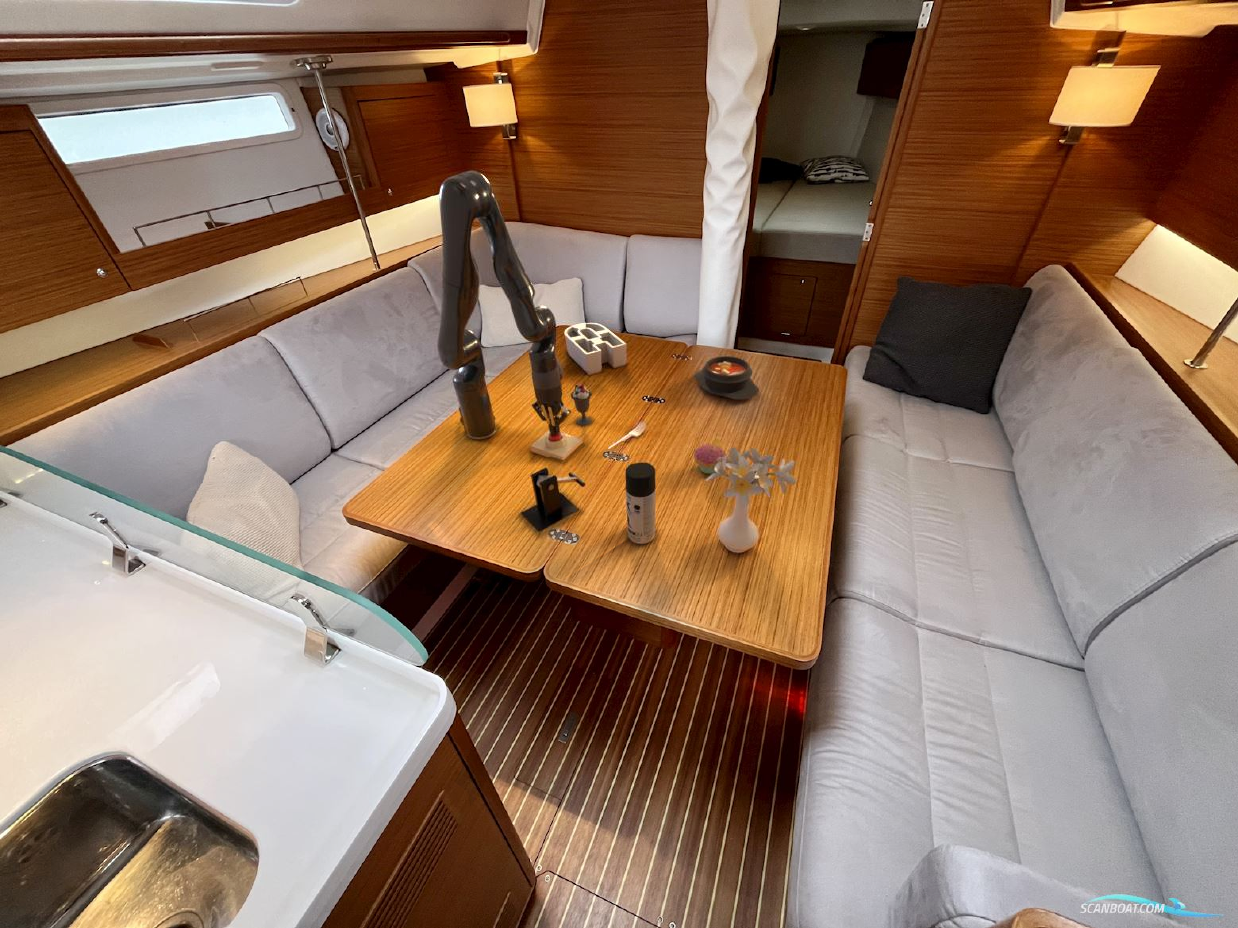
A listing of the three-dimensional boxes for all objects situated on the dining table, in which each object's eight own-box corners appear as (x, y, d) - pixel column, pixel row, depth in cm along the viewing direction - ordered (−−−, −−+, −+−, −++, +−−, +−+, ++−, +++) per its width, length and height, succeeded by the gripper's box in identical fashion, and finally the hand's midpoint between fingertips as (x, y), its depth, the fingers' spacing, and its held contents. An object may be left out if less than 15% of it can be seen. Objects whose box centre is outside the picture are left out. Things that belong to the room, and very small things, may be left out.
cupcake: (726, 462, 141) (730, 427, 133) (721, 480, 134) (724, 445, 127) (696, 457, 143) (698, 422, 136) (690, 475, 137) (691, 440, 129)
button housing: (531, 451, 149) (529, 440, 147) (551, 434, 156) (549, 424, 153) (563, 463, 144) (561, 451, 142) (582, 445, 151) (581, 434, 148)
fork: (595, 455, 146) (595, 450, 145) (640, 425, 157) (640, 421, 156) (603, 459, 144) (602, 454, 143) (648, 429, 156) (648, 424, 154)
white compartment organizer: (588, 375, 186) (586, 354, 180) (561, 348, 206) (558, 328, 200) (627, 365, 191) (626, 344, 186) (597, 339, 211) (595, 319, 206)
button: (547, 440, 147) (546, 435, 146) (554, 433, 150) (553, 429, 149) (556, 443, 146) (556, 438, 145) (564, 437, 148) (563, 432, 147)
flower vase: (788, 550, 114) (808, 465, 98) (715, 572, 110) (724, 486, 95) (758, 513, 124) (773, 430, 108) (690, 532, 120) (695, 449, 104)
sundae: (591, 428, 158) (587, 386, 149) (571, 426, 159) (566, 385, 150) (596, 416, 163) (593, 375, 154) (577, 415, 164) (572, 374, 155)
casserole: (771, 393, 169) (774, 371, 164) (730, 411, 162) (732, 388, 157) (721, 366, 186) (723, 346, 181) (682, 381, 179) (682, 360, 174)
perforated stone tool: (568, 380, 184) (566, 363, 179) (555, 384, 182) (552, 367, 178) (553, 364, 194) (551, 348, 190) (540, 368, 192) (538, 351, 188)
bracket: (560, 495, 133) (554, 457, 125) (579, 512, 127) (574, 474, 119) (521, 516, 127) (512, 477, 119) (539, 535, 122) (531, 496, 114)
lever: (570, 477, 130) (573, 469, 129) (584, 489, 126) (586, 480, 125) (532, 480, 122) (534, 471, 121) (545, 492, 118) (547, 483, 117)
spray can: (626, 526, 123) (623, 462, 110) (653, 523, 123) (653, 459, 111) (629, 546, 117) (625, 481, 105) (657, 543, 118) (657, 478, 105)
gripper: (519, 382, 136) (529, 434, 147) (557, 393, 131) (565, 446, 141) (536, 371, 141) (545, 422, 152) (574, 380, 136) (580, 433, 146)
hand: (555, 433), depth 147 cm, fingers closed
